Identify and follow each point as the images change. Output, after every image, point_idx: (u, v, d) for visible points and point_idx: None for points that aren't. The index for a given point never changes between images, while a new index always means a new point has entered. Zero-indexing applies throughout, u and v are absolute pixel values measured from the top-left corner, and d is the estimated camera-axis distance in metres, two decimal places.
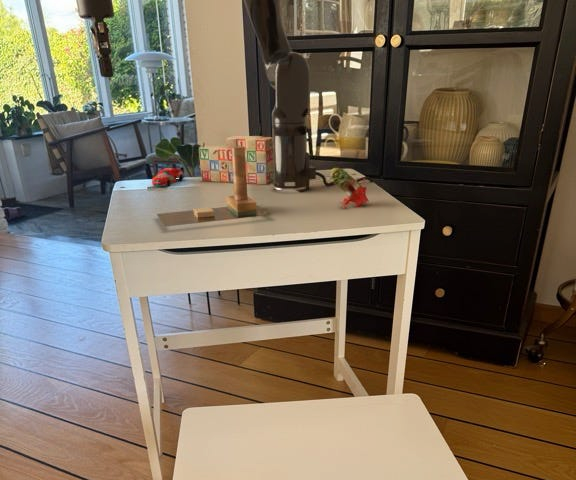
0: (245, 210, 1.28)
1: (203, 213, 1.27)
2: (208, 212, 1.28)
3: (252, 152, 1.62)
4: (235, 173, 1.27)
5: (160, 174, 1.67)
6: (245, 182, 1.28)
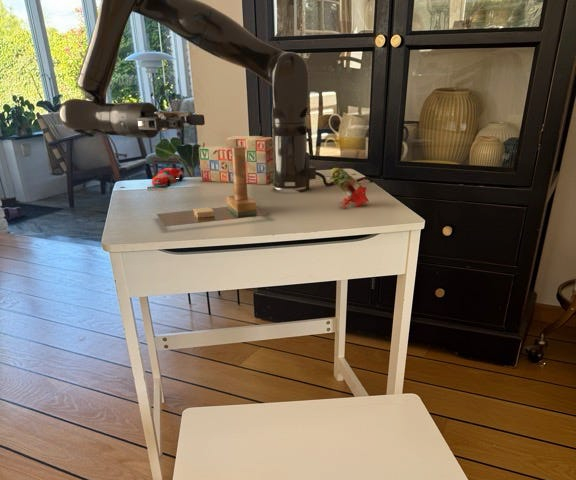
0: (245, 210, 1.28)
1: (203, 213, 1.27)
2: (208, 212, 1.28)
3: (252, 152, 1.62)
4: (235, 173, 1.27)
5: (160, 174, 1.67)
6: (245, 182, 1.28)
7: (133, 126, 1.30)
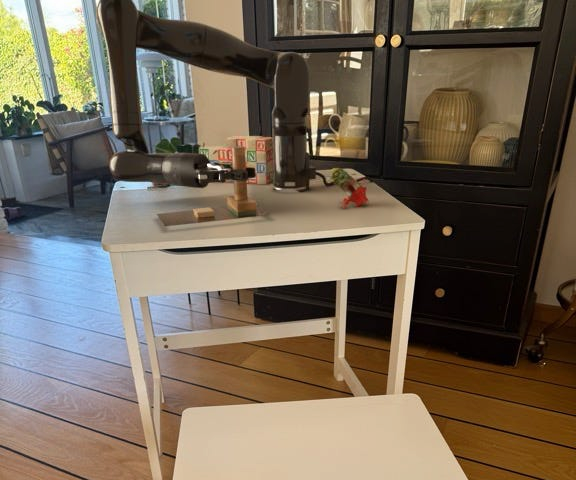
0: (245, 210, 1.28)
1: (203, 213, 1.27)
2: (208, 212, 1.28)
3: (252, 152, 1.62)
4: None
5: None
6: (245, 182, 1.28)
7: (186, 177, 1.30)
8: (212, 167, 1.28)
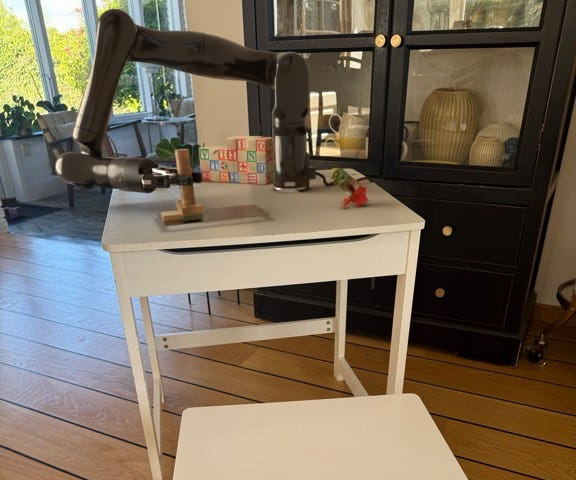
0: (191, 214, 1.24)
1: (169, 216, 1.25)
2: (175, 215, 1.25)
3: (252, 152, 1.62)
4: None
5: None
6: (191, 186, 1.24)
7: (131, 182, 1.27)
8: (157, 172, 1.24)
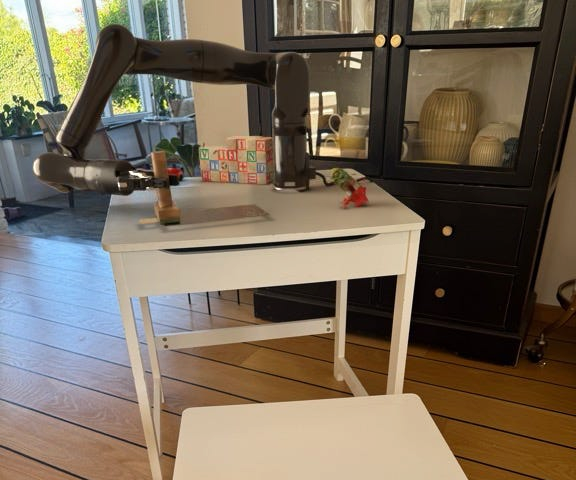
0: (168, 217, 1.22)
1: None
2: None
3: (252, 152, 1.62)
4: None
5: None
6: None
7: (108, 185, 1.25)
8: (134, 174, 1.23)
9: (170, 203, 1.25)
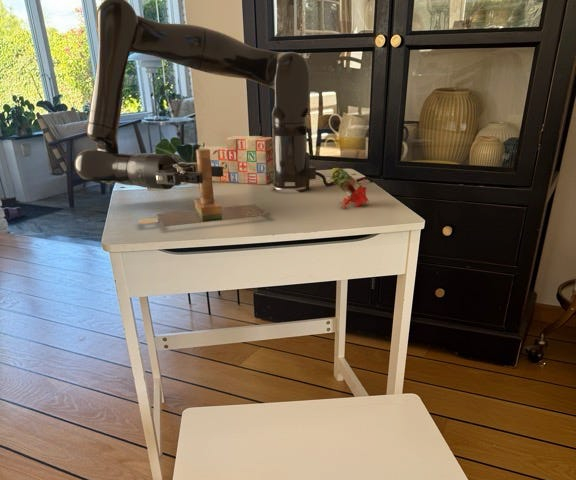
0: (210, 213, 1.25)
1: None
2: None
3: (252, 152, 1.62)
4: None
5: None
6: (211, 185, 1.26)
7: (151, 178, 1.28)
8: None
9: (212, 200, 1.27)
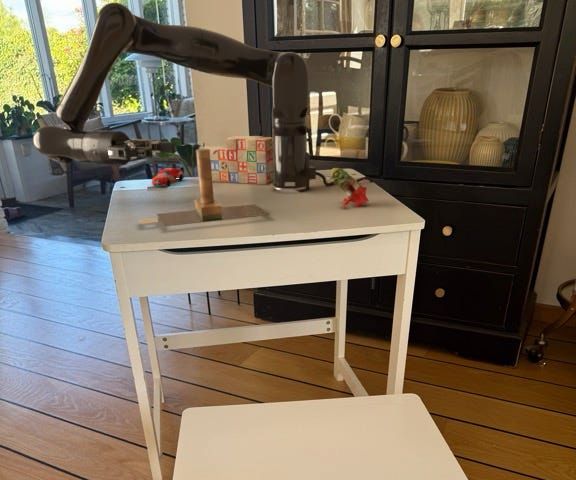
0: (210, 213, 1.25)
1: None
2: None
3: (252, 152, 1.62)
4: (200, 176, 1.24)
5: (160, 174, 1.67)
6: (211, 185, 1.26)
7: (104, 154, 1.32)
8: None
9: (212, 200, 1.27)
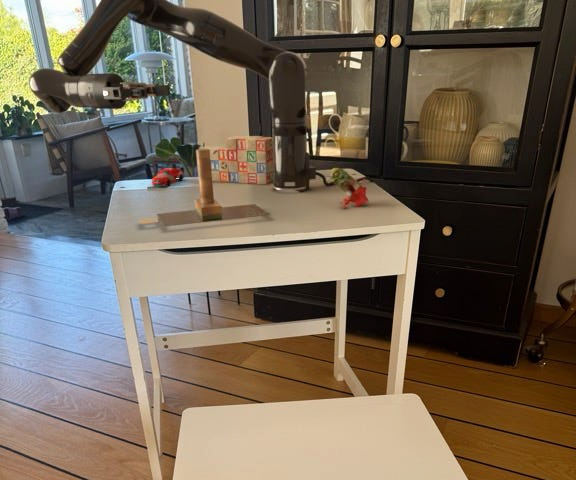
0: (210, 213, 1.25)
1: None
2: None
3: (252, 152, 1.62)
4: (200, 176, 1.24)
5: (160, 174, 1.67)
6: (211, 185, 1.26)
7: (99, 97, 1.32)
8: None
9: (212, 200, 1.27)
